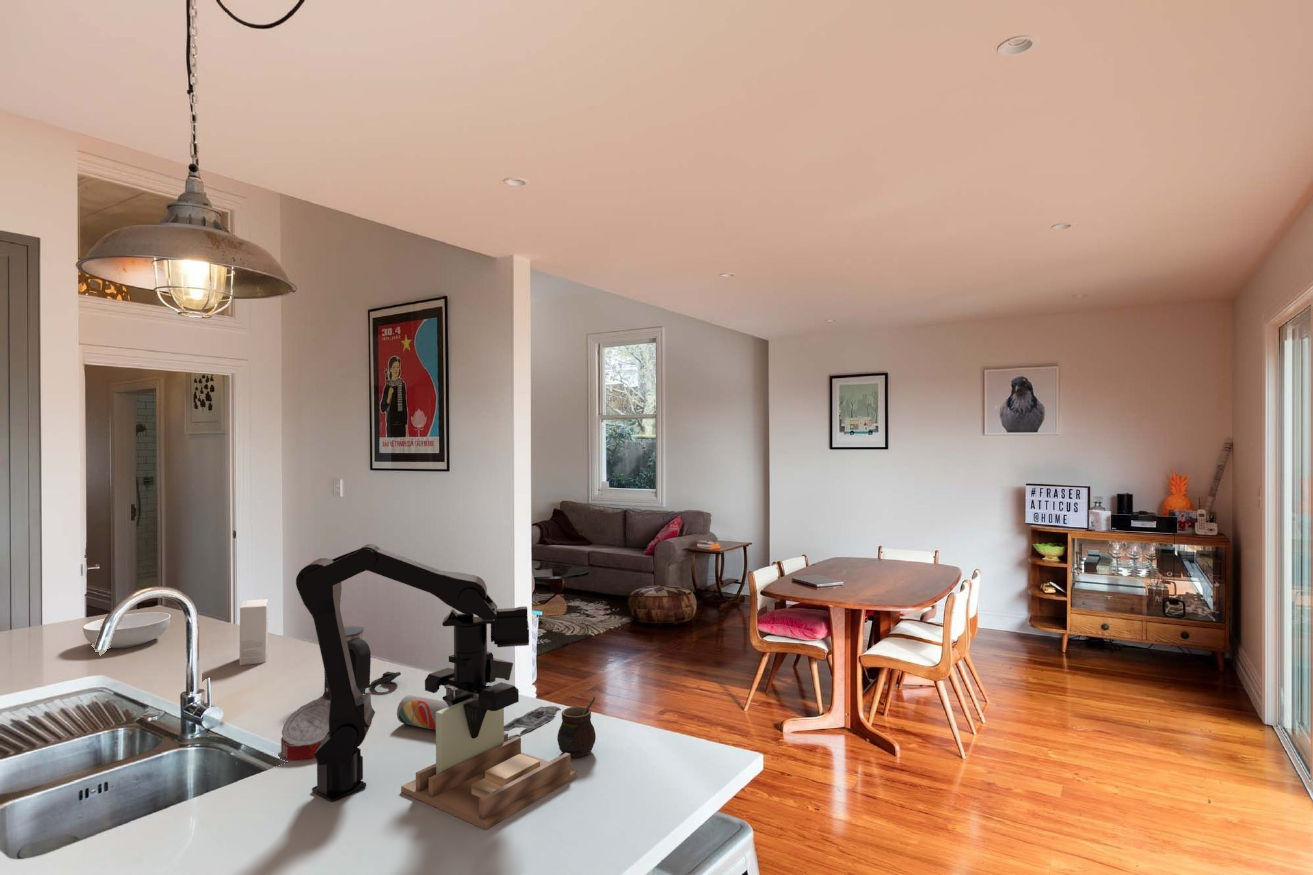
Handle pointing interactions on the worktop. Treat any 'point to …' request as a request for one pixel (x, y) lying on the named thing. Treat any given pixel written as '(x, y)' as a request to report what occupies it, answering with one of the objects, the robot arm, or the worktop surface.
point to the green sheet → (464, 735)
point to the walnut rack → (457, 798)
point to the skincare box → (253, 631)
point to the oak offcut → (511, 769)
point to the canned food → (305, 730)
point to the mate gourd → (576, 731)
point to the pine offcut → (484, 788)
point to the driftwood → (532, 720)
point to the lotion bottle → (419, 711)
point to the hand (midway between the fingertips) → (471, 736)
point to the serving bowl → (131, 629)
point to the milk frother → (360, 661)
